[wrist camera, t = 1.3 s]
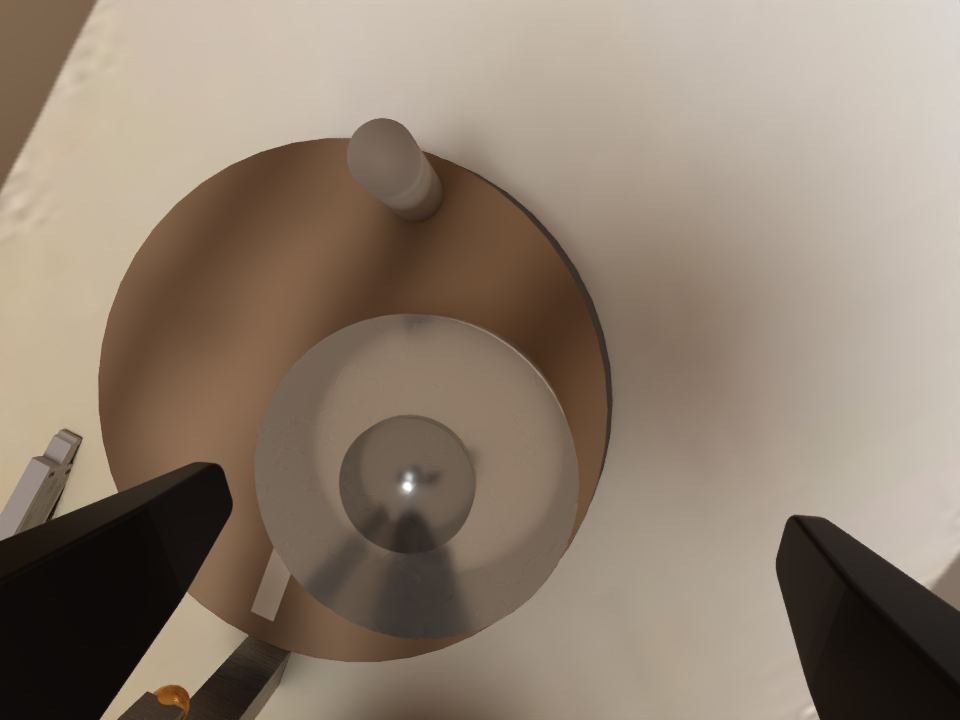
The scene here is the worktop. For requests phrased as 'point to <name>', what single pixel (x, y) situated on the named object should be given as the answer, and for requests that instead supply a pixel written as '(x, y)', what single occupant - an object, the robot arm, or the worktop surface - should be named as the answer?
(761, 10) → the worktop surface
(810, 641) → the robot arm
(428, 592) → the cover
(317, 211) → the turntable
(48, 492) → the caliper
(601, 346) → the turntable stand
